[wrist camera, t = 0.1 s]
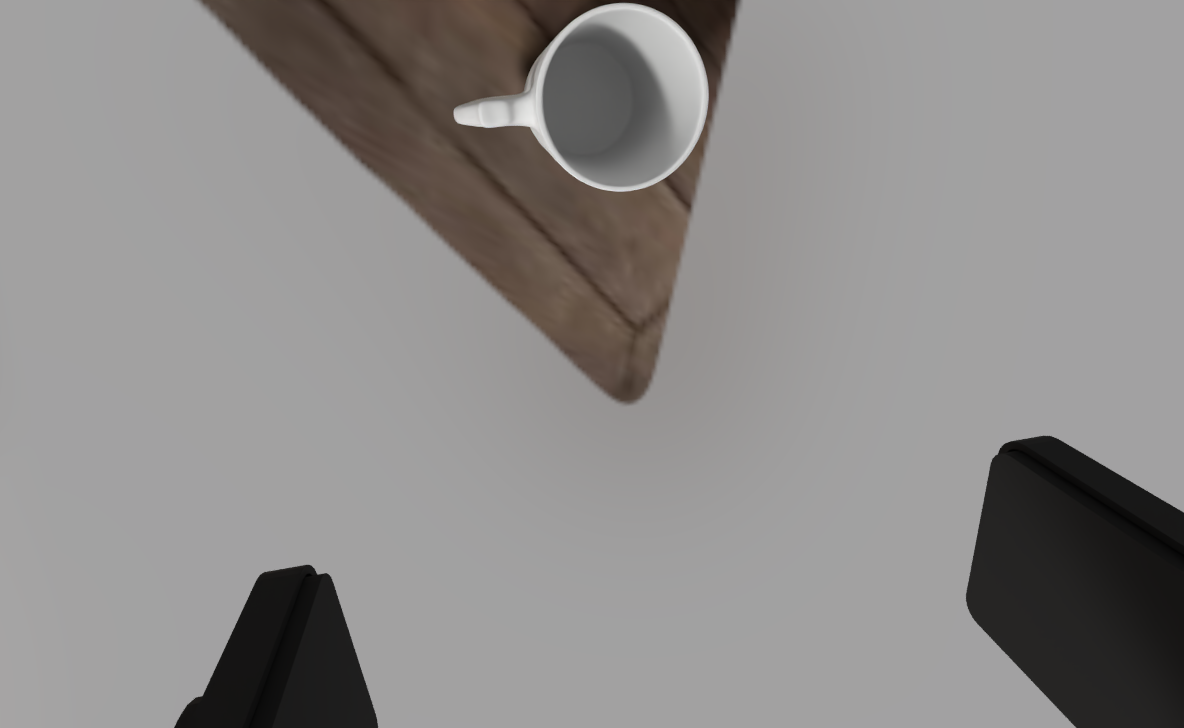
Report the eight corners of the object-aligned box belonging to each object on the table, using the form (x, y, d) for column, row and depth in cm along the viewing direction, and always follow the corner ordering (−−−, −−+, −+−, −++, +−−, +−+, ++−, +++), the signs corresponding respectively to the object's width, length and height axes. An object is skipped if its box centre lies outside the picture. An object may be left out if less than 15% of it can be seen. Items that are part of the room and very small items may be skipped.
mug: (635, 29, 34) (708, -4, 24) (641, 158, 37) (709, 183, 26) (448, 42, 33) (433, 14, 22) (468, 175, 36) (463, 208, 25)
